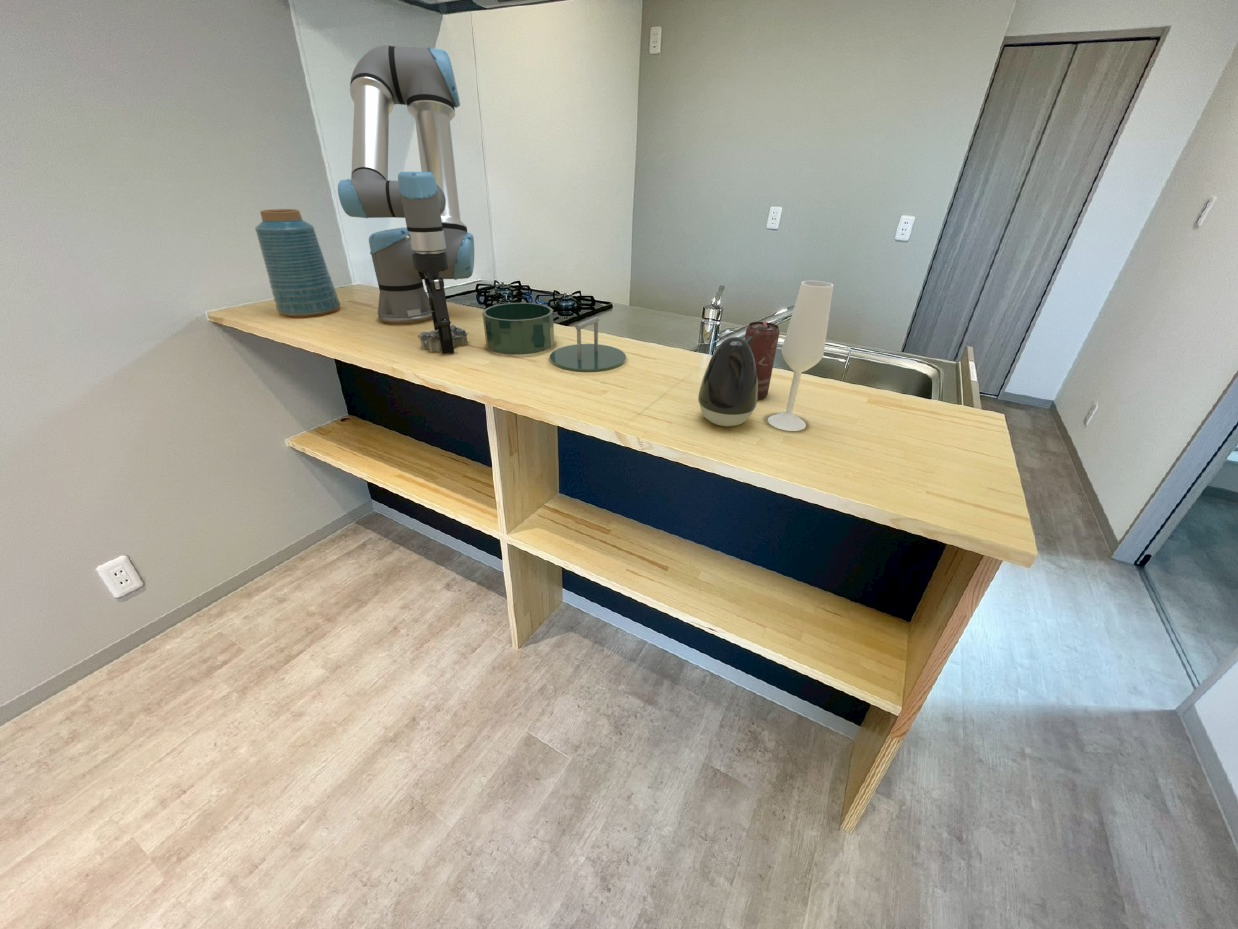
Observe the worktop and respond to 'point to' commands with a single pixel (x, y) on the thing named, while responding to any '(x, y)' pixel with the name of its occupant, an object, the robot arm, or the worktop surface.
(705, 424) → the worktop surface
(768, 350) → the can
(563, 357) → the lid
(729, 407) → the dark grey egg shape
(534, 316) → the pot
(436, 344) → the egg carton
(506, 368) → the worktop surface
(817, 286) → the champagne flute
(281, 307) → the vase
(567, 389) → the worktop surface
